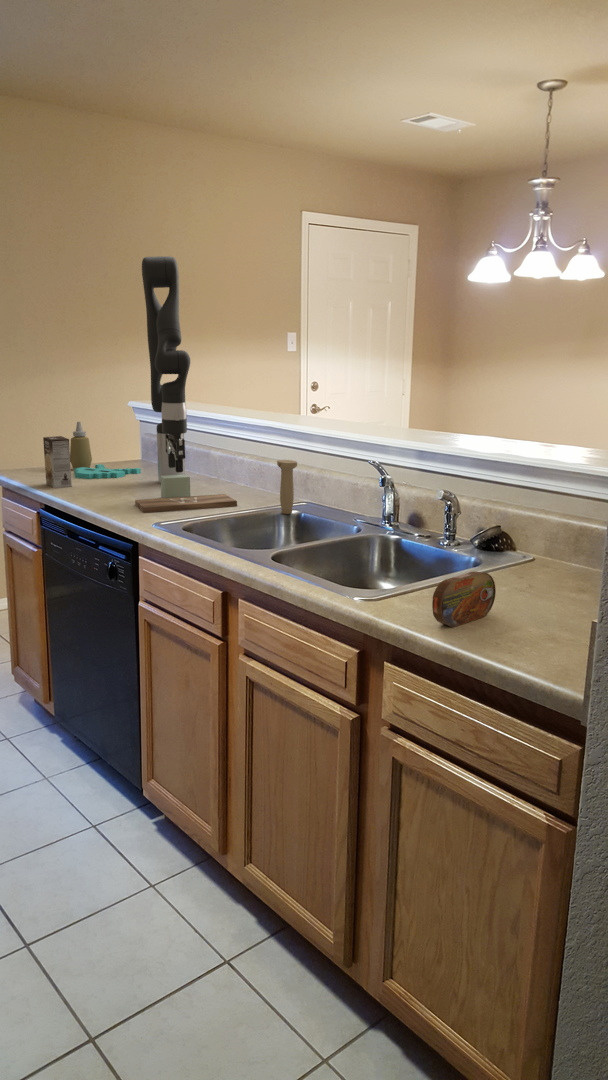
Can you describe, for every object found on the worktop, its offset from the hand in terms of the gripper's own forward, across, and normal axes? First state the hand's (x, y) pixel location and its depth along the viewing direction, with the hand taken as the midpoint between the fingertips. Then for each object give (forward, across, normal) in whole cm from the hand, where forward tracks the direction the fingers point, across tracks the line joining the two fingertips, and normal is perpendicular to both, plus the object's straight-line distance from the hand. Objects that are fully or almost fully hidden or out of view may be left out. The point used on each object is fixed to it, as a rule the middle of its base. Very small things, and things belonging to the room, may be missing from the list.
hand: (175, 469), depth 250 cm
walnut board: (+9, +13, 0) cm, 15 cm away
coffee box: (+10, -36, -31) cm, 48 cm away
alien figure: (+10, -54, -14) cm, 56 cm away
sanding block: (+9, +1, 0) cm, 9 cm away
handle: (+9, +34, +23) cm, 42 cm away
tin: (+7, +130, +18) cm, 131 cm away
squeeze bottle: (+10, -67, -19) cm, 71 cm away
